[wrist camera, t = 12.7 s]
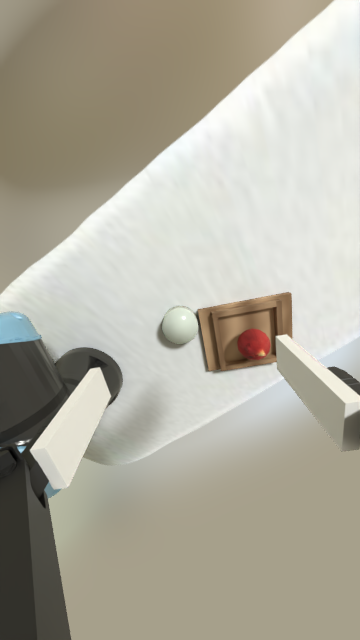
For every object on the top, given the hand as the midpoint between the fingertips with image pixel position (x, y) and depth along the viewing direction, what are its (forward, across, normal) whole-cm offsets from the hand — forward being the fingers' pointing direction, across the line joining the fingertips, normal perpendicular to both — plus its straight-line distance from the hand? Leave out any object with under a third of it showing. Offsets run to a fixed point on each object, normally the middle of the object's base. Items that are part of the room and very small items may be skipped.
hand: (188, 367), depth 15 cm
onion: (+26, +11, -11) cm, 30 cm away
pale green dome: (+27, -2, -6) cm, 27 cm away
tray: (+27, +11, -11) cm, 31 cm away
